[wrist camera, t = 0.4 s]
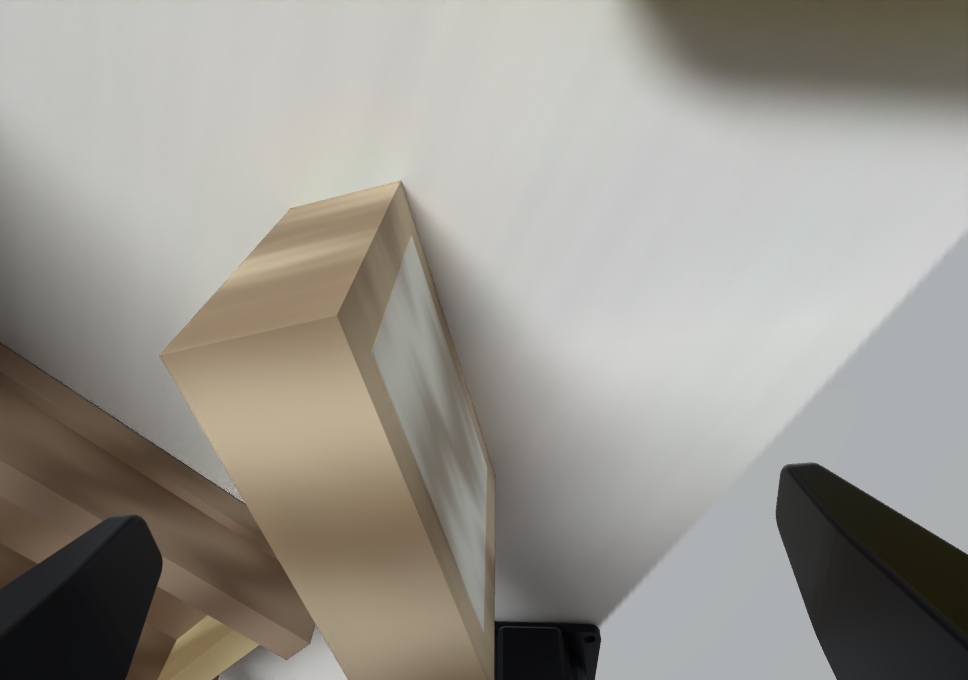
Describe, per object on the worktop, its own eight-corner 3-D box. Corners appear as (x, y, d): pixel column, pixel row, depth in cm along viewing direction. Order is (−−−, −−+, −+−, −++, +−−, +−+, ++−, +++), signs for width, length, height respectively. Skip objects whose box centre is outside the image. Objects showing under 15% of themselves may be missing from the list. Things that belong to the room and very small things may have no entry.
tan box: (496, 473, 25) (495, 697, 17) (406, 490, 26) (366, 714, 18) (402, 179, 20) (339, 314, 12) (289, 207, 20) (157, 355, 12)
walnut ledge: (337, 565, 28) (318, 637, 25) (207, 663, 31) (176, 737, 28) (-138, 252, 21) (-246, 299, 18) (-236, 422, 24) (-340, 486, 21)
